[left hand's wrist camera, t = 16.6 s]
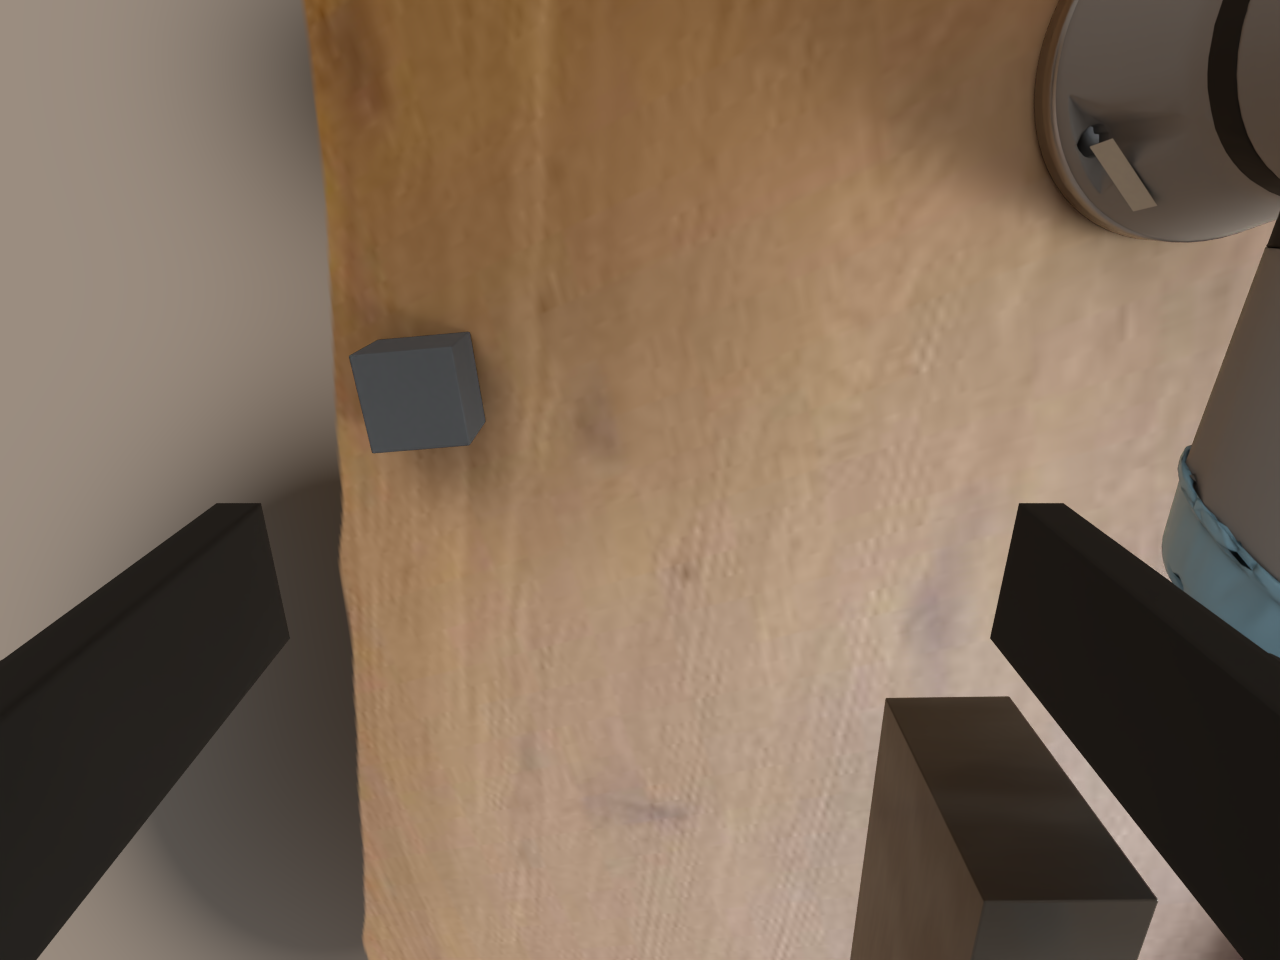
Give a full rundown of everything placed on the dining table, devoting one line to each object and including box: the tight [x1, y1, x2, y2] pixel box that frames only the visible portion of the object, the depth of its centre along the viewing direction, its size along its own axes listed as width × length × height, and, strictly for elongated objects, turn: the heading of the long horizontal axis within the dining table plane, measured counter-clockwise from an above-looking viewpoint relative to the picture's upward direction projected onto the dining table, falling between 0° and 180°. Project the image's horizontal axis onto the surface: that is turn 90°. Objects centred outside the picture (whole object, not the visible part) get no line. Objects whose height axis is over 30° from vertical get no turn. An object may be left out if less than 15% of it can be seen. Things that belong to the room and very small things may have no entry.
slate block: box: [349, 332, 485, 453], centre depth 37 cm, size 5×5×4 cm
